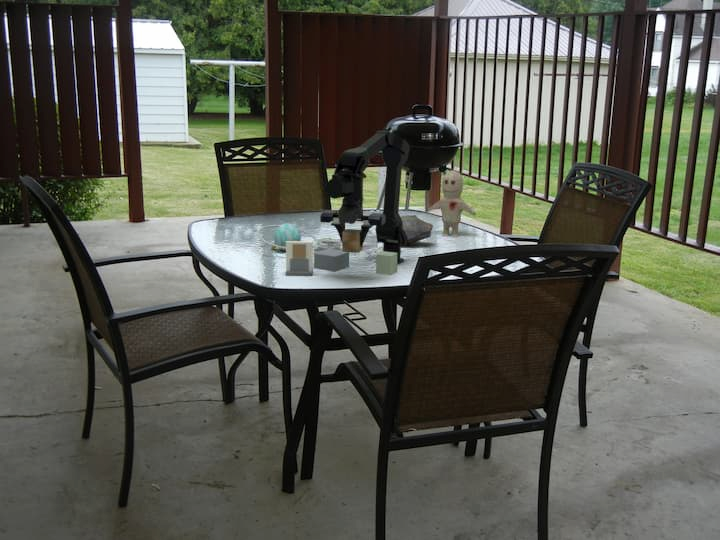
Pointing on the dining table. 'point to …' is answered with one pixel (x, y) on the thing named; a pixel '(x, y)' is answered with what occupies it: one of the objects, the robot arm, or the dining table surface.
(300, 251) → the plaque
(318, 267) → the slate base
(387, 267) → the sage block
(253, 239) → the dining table surface
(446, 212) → the toy
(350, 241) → the walnut block
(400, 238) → the robot arm
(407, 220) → the stone
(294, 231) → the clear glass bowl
